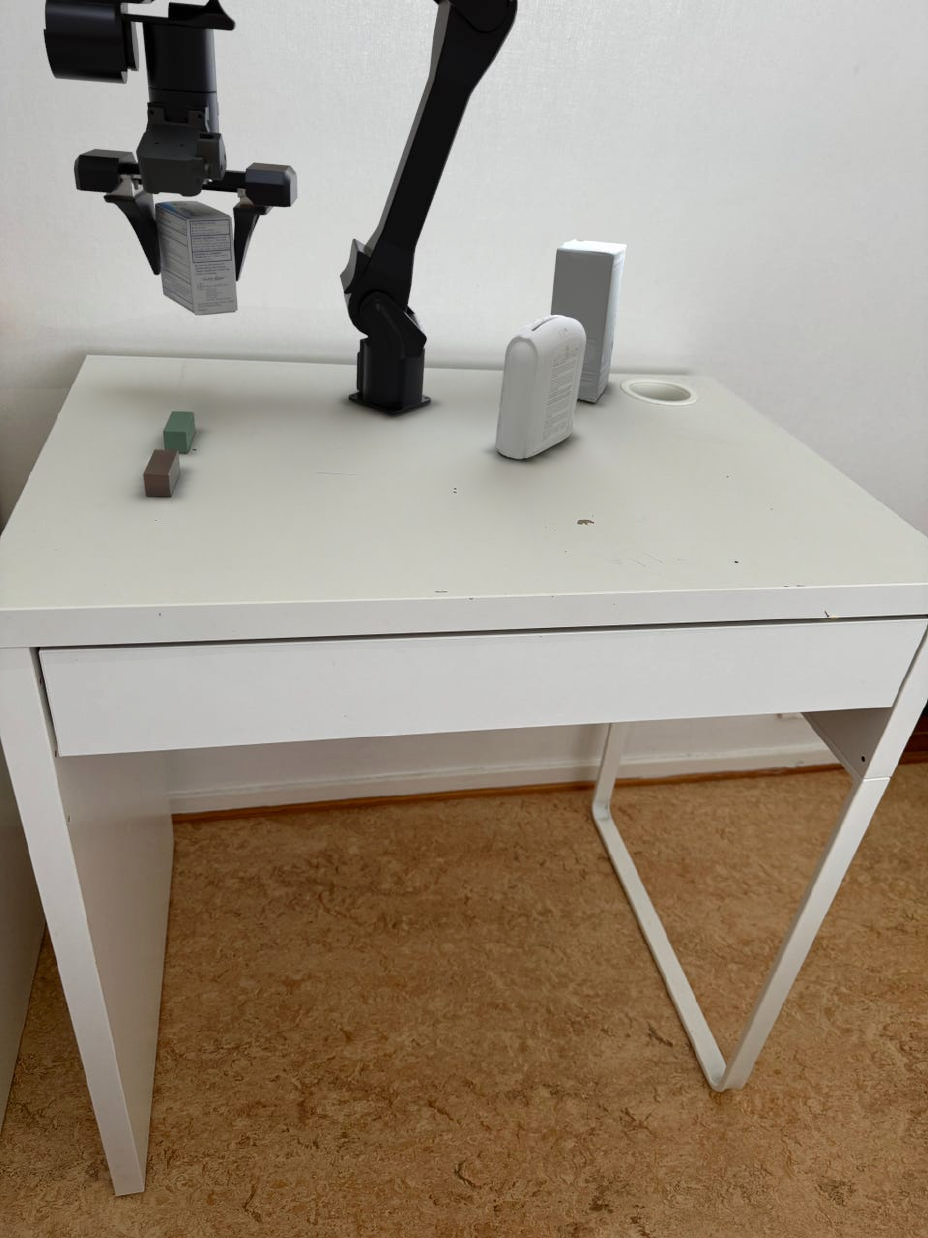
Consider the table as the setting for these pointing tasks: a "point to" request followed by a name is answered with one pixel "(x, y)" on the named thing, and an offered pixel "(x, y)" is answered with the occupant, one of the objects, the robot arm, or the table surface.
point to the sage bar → (179, 431)
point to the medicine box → (197, 257)
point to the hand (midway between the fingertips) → (196, 277)
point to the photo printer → (540, 386)
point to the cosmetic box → (590, 303)
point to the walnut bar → (161, 473)
